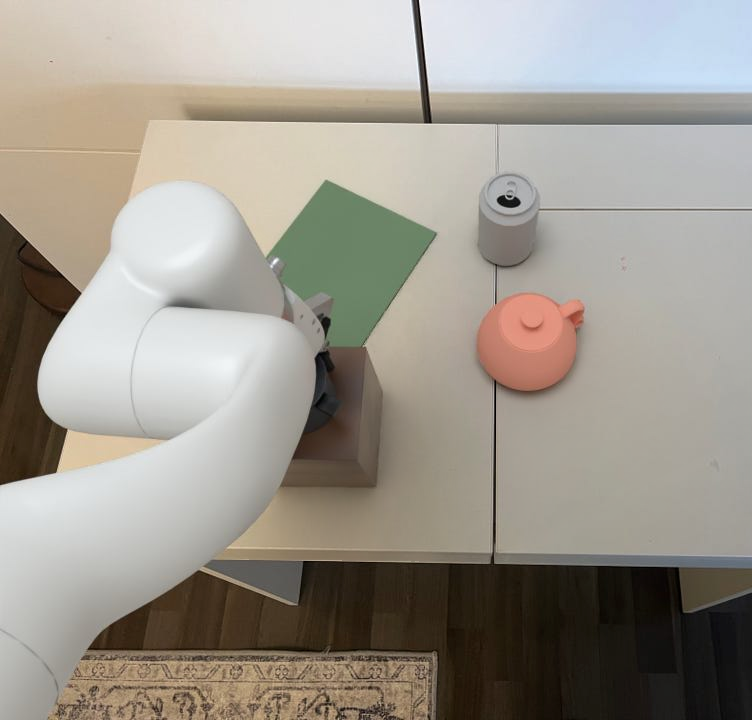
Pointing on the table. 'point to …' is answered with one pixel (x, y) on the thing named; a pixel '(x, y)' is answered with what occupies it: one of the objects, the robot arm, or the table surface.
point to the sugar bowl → (529, 340)
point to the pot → (322, 399)
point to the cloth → (350, 258)
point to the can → (507, 218)
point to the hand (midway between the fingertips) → (298, 395)
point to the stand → (343, 430)
